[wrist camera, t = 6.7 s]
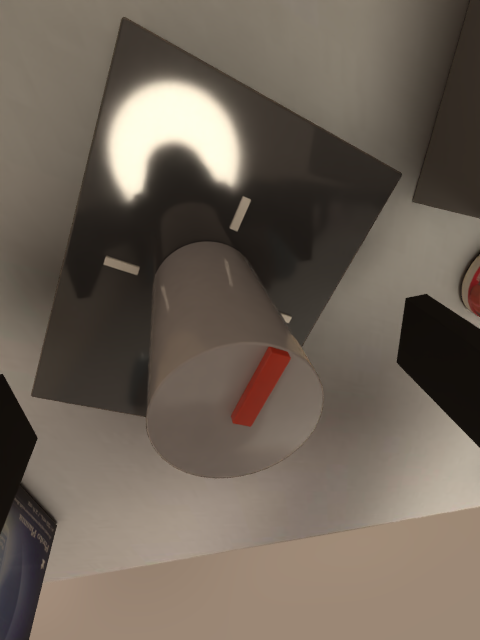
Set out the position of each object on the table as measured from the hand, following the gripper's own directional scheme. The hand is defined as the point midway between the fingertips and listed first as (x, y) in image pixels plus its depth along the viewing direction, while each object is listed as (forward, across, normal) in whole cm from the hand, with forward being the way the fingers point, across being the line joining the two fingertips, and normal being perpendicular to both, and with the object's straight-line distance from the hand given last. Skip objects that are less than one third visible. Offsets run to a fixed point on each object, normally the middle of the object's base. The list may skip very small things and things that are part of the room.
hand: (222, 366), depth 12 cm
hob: (+8, 0, 0) cm, 8 cm away
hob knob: (+5, 0, 0) cm, 5 cm away
